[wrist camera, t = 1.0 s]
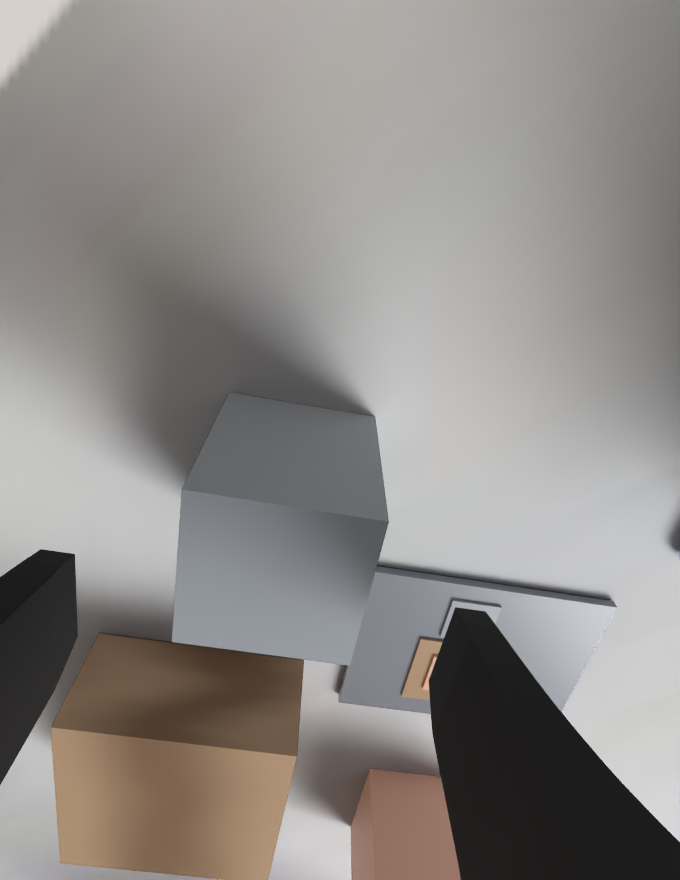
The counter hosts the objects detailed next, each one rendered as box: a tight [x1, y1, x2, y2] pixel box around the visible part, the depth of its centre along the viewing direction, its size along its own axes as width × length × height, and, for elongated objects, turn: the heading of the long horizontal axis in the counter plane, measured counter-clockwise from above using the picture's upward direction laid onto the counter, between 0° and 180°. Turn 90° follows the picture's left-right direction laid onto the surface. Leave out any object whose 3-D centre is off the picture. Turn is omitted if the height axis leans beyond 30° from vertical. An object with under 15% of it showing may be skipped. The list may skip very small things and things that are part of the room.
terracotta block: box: [351, 769, 461, 880], centre depth 21 cm, size 4×4×5 cm
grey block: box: [172, 392, 389, 666], centre depth 14 cm, size 4×4×5 cm
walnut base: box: [51, 633, 304, 880], centre depth 19 cm, size 7×7×4 cm
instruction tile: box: [339, 566, 617, 714], centre depth 19 cm, size 8×6×1 cm
